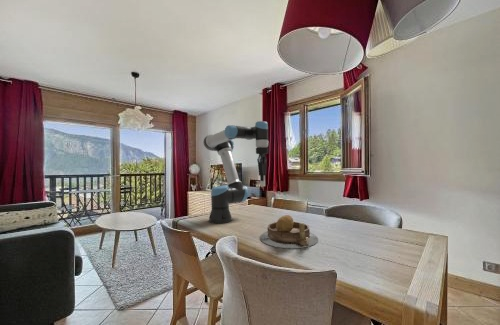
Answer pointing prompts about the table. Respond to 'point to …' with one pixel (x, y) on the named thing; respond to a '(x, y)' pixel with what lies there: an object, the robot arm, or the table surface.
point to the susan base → (292, 245)
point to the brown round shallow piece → (290, 233)
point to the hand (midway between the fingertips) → (262, 186)
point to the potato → (285, 224)
